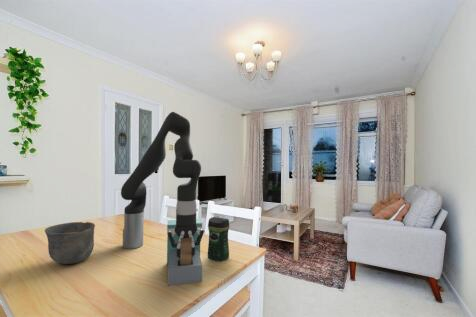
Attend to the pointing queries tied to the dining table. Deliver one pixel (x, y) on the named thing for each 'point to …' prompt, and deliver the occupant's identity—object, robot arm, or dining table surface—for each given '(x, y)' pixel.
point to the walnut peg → (185, 251)
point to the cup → (70, 241)
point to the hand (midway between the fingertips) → (185, 256)
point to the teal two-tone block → (170, 227)
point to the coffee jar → (218, 239)
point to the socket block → (184, 269)
